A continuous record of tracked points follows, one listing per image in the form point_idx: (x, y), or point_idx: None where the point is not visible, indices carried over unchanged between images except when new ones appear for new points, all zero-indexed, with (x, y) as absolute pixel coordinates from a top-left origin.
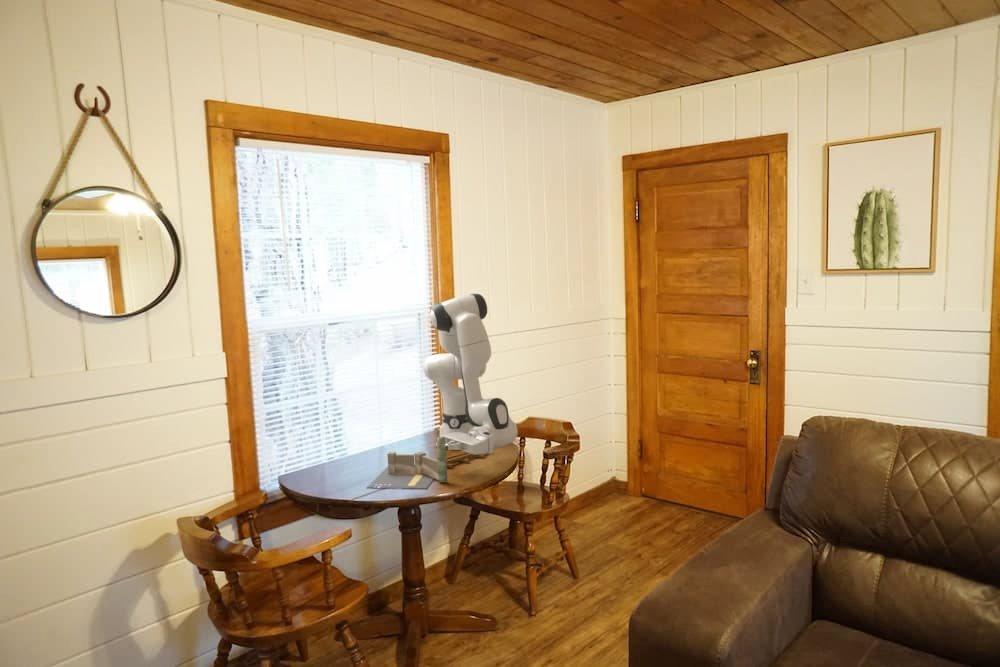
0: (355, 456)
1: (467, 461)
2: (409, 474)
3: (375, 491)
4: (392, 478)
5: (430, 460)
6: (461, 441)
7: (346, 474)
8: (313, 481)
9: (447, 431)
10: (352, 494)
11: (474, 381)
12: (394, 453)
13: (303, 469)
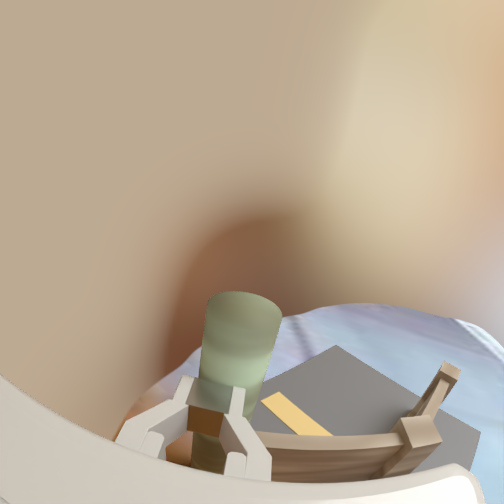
0: None
1: None
2: None
3: (304, 346)
4: (369, 401)
5: (321, 439)
6: (104, 438)
7: (441, 362)
8: (417, 326)
9: None
10: (316, 323)
11: None
12: (445, 374)
13: (474, 337)
